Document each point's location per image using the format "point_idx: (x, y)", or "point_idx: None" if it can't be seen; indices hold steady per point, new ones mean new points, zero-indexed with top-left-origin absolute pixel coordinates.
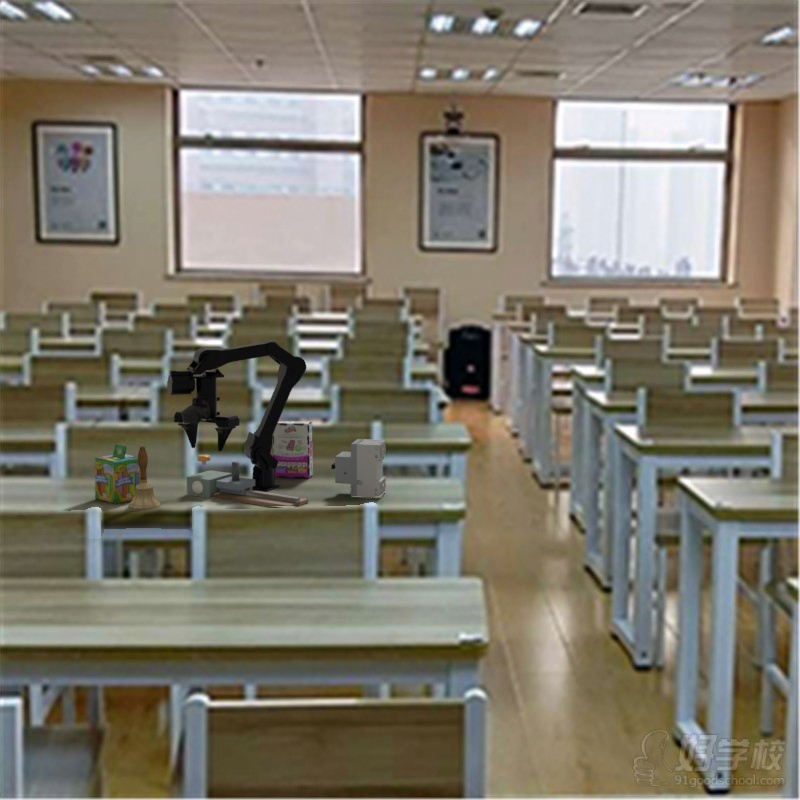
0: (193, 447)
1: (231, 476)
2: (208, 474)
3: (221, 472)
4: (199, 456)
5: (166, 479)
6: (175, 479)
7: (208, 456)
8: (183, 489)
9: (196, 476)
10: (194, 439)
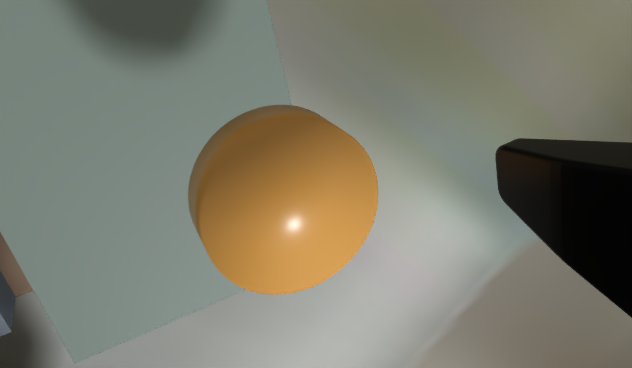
0: (501, 164)
1: (2, 322)
2: (185, 161)
3: (181, 297)
4: (304, 144)
5: (611, 95)
6: (576, 135)
7: (217, 247)
8: (359, 14)
9: (181, 6)
10: (612, 251)
